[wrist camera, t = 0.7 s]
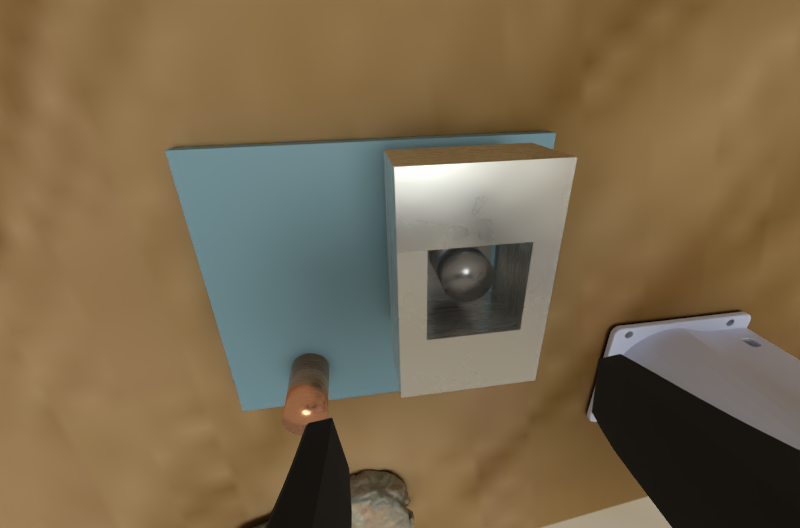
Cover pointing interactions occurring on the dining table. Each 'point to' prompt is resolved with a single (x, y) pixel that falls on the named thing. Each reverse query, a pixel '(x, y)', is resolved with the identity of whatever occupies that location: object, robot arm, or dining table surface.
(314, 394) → the copper cylinder peg
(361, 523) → the long grey stone
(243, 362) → the board
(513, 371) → the silver block with hole
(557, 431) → the dining table surface
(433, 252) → the metal knob block
